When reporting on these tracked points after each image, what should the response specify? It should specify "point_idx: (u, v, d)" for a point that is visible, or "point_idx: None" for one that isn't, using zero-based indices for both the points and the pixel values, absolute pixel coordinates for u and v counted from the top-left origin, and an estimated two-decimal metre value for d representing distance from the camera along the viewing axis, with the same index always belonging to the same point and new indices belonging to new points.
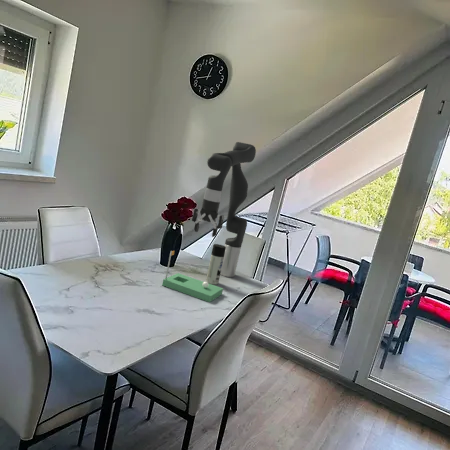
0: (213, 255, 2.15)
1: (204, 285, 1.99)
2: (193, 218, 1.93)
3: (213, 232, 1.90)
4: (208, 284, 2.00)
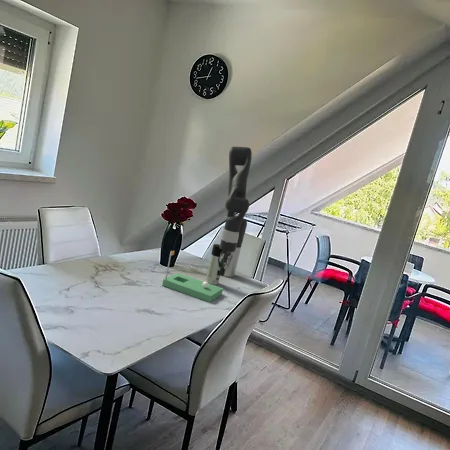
0: (213, 255, 2.15)
1: (204, 285, 1.99)
2: (224, 265, 1.93)
3: (224, 271, 1.97)
4: (208, 284, 2.00)
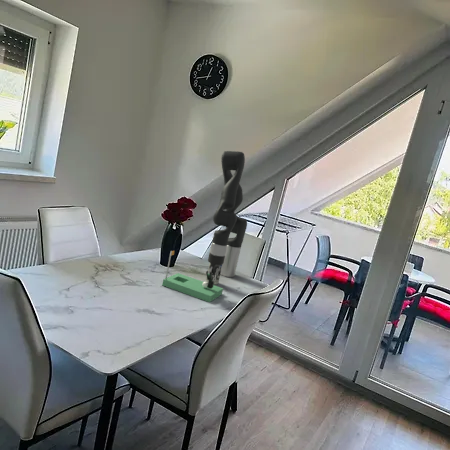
0: None
1: (204, 285, 1.99)
2: (212, 278, 1.96)
3: (213, 284, 2.00)
4: None
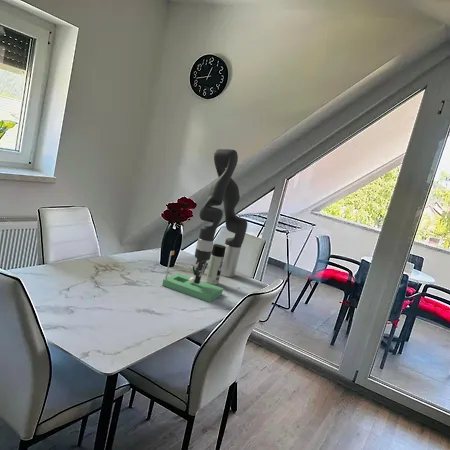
0: (213, 255, 2.15)
1: (191, 281, 2.01)
2: (199, 273, 1.98)
3: None
4: (190, 282, 2.03)
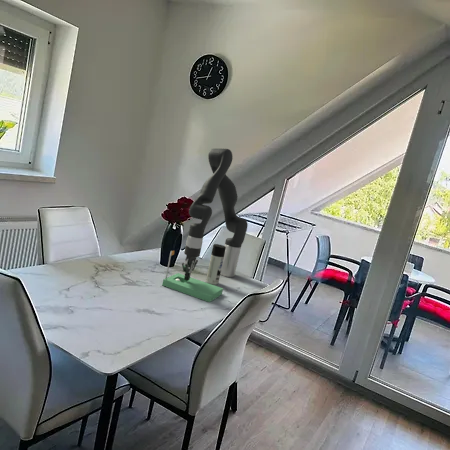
0: (213, 255, 2.15)
1: None
2: (188, 270, 2.00)
3: None
4: (175, 279, 2.06)
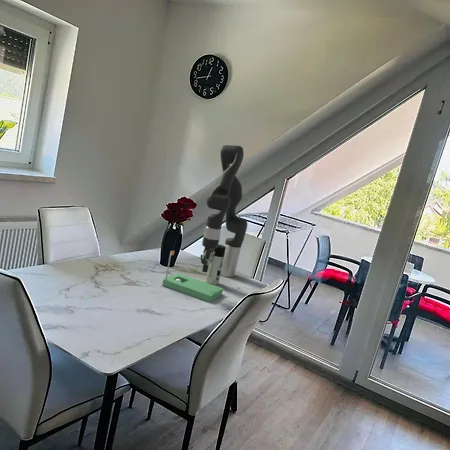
0: None
1: None
2: (207, 262, 1.97)
3: None
4: (176, 279, 2.06)
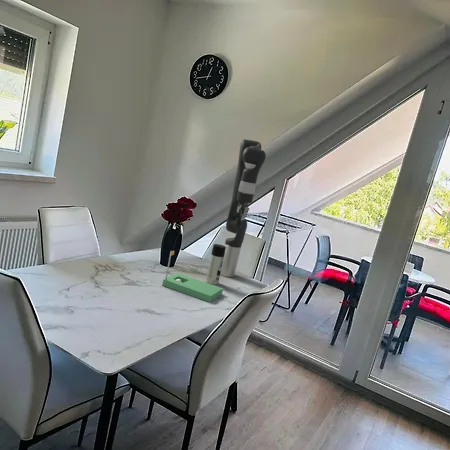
0: (213, 255, 2.15)
1: None
2: (241, 216, 1.97)
3: (242, 223, 2.00)
4: (177, 279, 2.06)
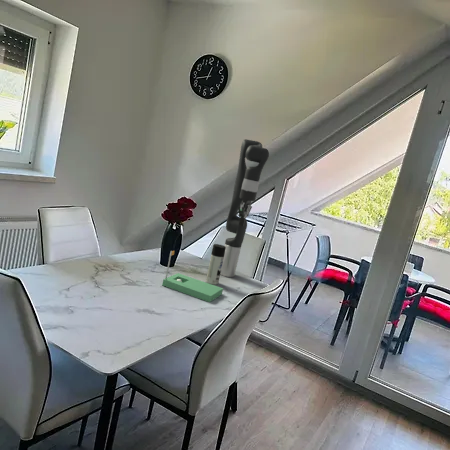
0: (213, 255, 2.15)
1: None
2: (244, 214, 1.97)
3: (244, 221, 2.01)
4: (177, 279, 2.06)
